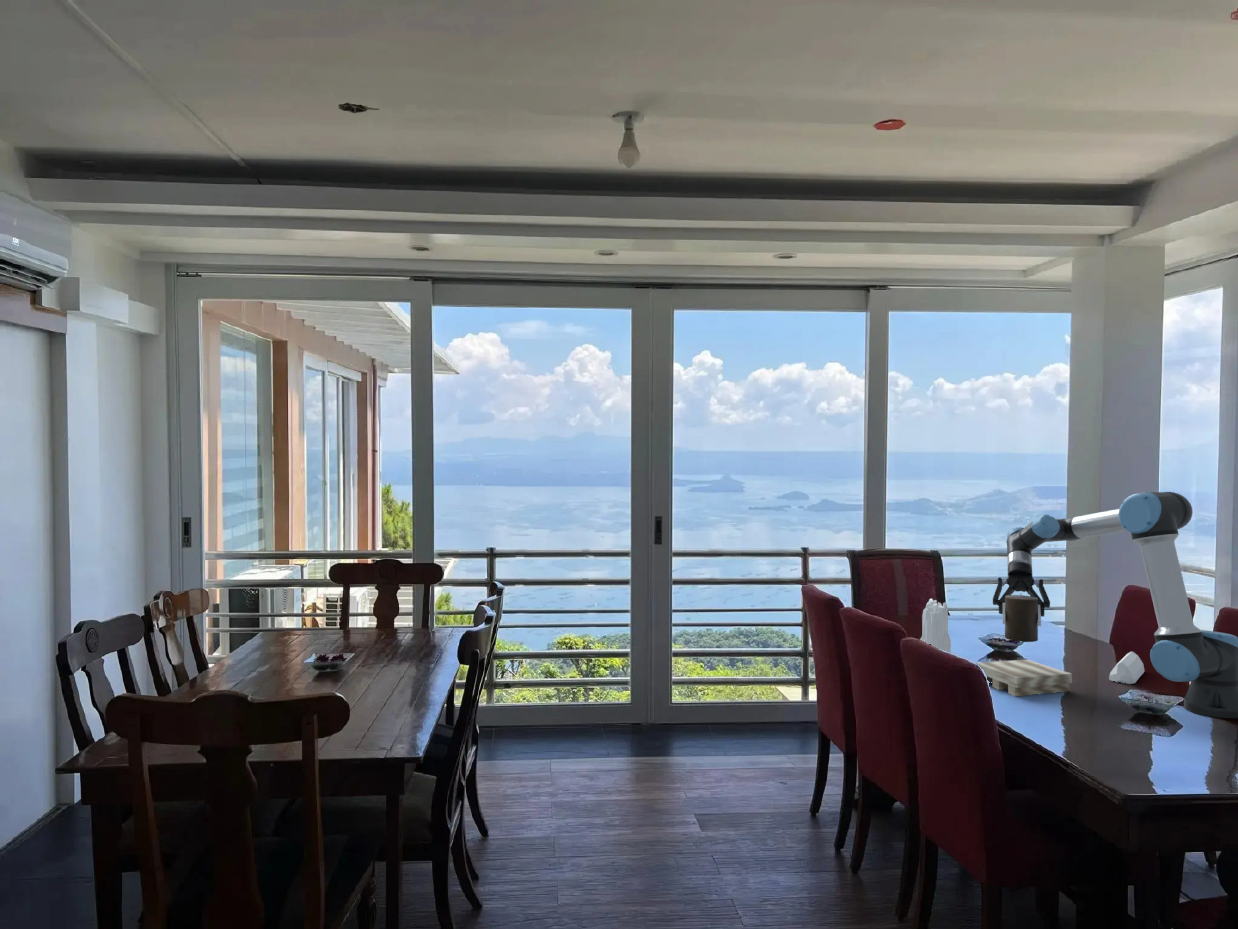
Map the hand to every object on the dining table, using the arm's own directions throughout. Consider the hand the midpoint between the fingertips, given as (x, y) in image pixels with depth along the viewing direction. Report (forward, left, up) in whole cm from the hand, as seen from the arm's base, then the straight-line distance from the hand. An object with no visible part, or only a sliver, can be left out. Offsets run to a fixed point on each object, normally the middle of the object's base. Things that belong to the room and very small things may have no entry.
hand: (1021, 622), depth 268 cm
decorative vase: (+13, -27, -22) cm, 37 cm away
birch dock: (-2, -2, -21) cm, 21 cm away
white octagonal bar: (-44, -4, -22) cm, 49 cm away
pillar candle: (-2, -3, -6) cm, 7 cm away
